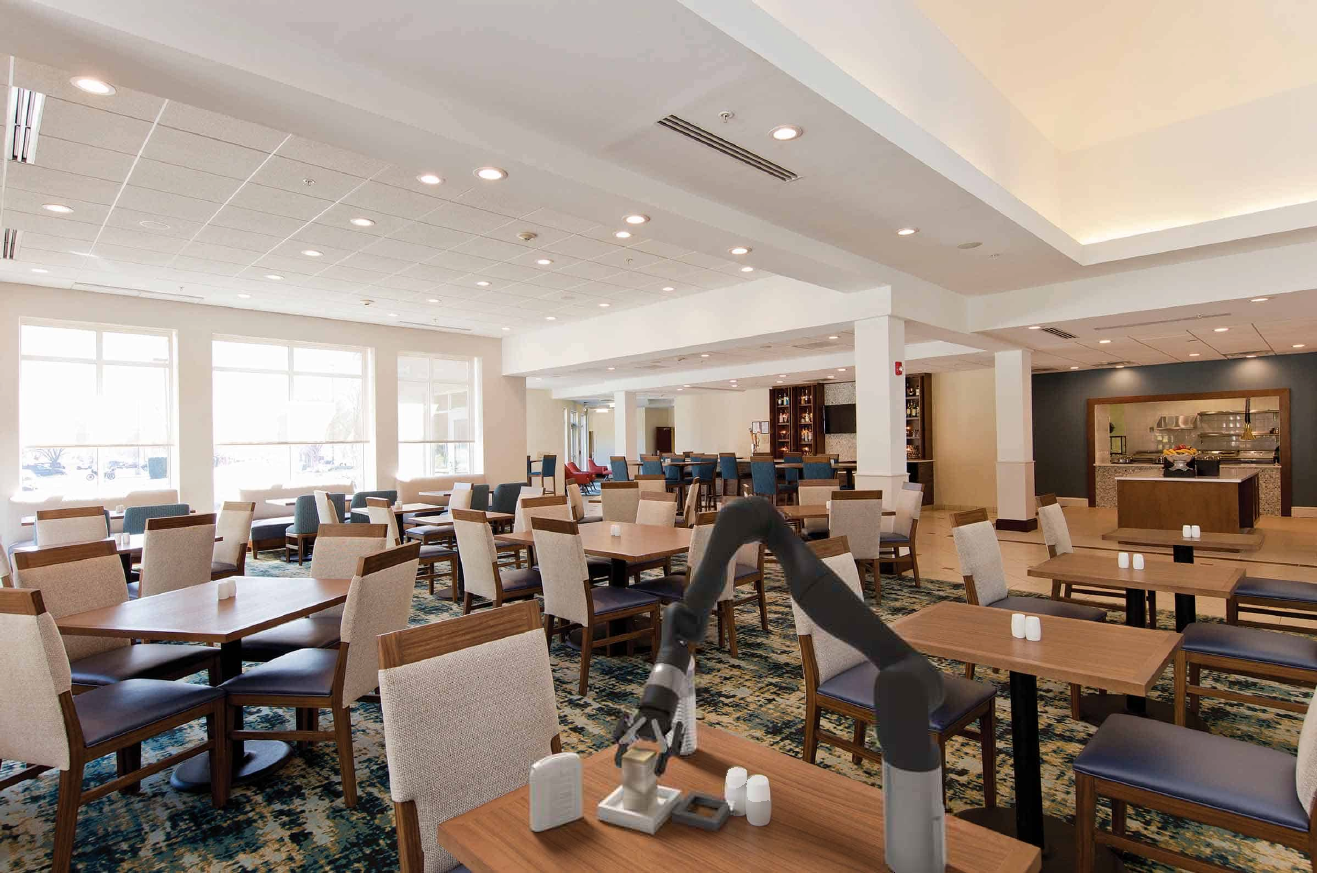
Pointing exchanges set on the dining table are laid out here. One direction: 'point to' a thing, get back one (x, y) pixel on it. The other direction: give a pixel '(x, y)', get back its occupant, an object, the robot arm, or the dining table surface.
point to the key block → (639, 780)
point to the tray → (648, 823)
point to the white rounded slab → (555, 791)
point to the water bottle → (687, 712)
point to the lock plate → (712, 824)
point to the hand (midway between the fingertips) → (637, 770)
